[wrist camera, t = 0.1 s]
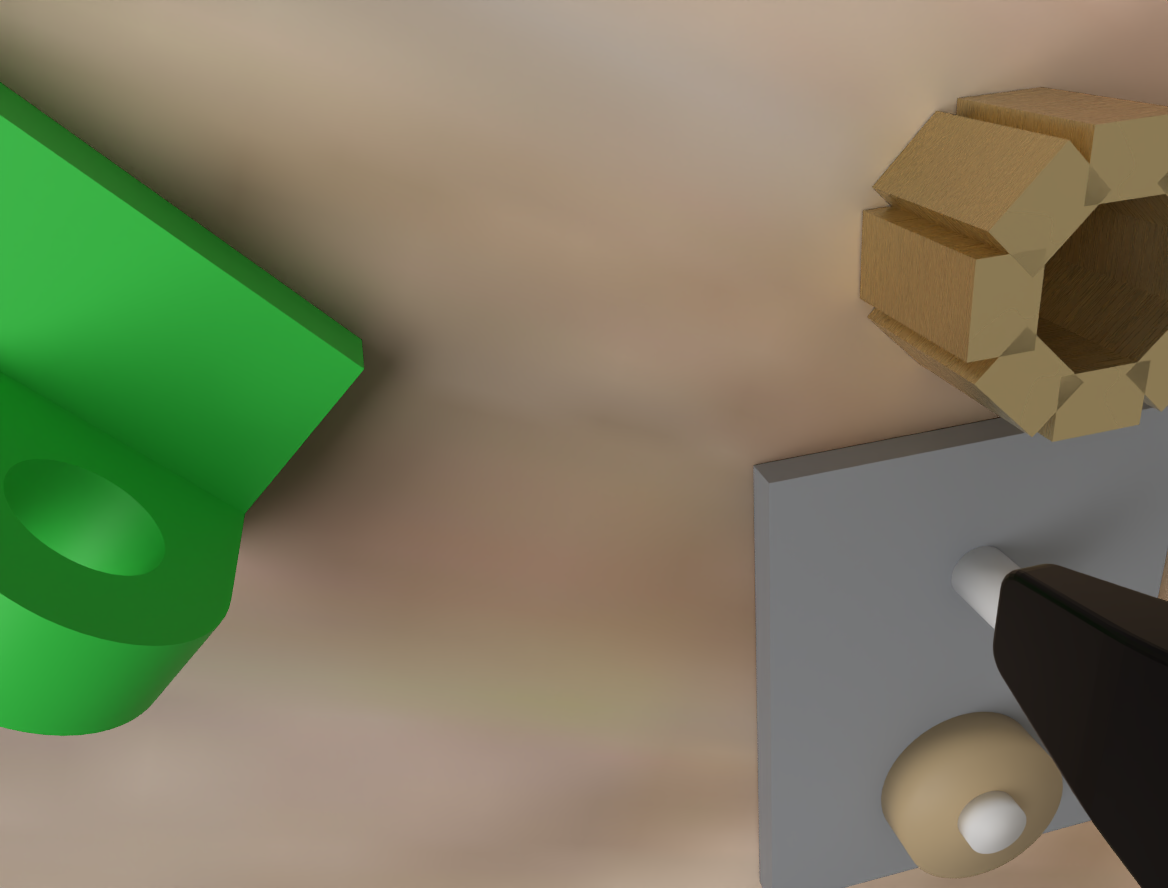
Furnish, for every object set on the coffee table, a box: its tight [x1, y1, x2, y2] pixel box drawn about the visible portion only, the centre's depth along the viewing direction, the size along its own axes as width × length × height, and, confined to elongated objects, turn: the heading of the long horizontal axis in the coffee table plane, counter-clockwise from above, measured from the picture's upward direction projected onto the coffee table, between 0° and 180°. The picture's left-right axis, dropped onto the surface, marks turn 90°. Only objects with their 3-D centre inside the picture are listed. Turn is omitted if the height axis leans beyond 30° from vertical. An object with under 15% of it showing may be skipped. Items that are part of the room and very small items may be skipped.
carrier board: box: [754, 402, 1168, 888], centre depth 27 cm, size 15×12×4 cm
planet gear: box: [860, 87, 1168, 442], centre depth 22 cm, size 6×6×4 cm
